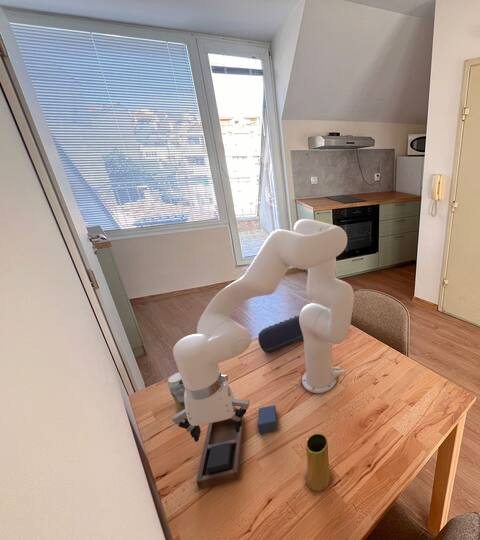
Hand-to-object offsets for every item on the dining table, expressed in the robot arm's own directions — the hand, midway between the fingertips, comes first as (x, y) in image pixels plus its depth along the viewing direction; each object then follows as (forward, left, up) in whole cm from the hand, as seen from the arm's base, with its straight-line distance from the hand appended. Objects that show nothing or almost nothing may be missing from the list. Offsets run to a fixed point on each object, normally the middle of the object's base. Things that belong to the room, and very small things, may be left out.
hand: (218, 432), depth 75 cm
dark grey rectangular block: (+1, +1, -12) cm, 12 cm away
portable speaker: (-19, -49, -12) cm, 54 cm away
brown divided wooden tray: (+1, -3, -12) cm, 13 cm away
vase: (-24, +11, -12) cm, 29 cm away
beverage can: (+15, -23, -12) cm, 30 cm away
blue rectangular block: (-11, -9, -12) cm, 19 cm away
